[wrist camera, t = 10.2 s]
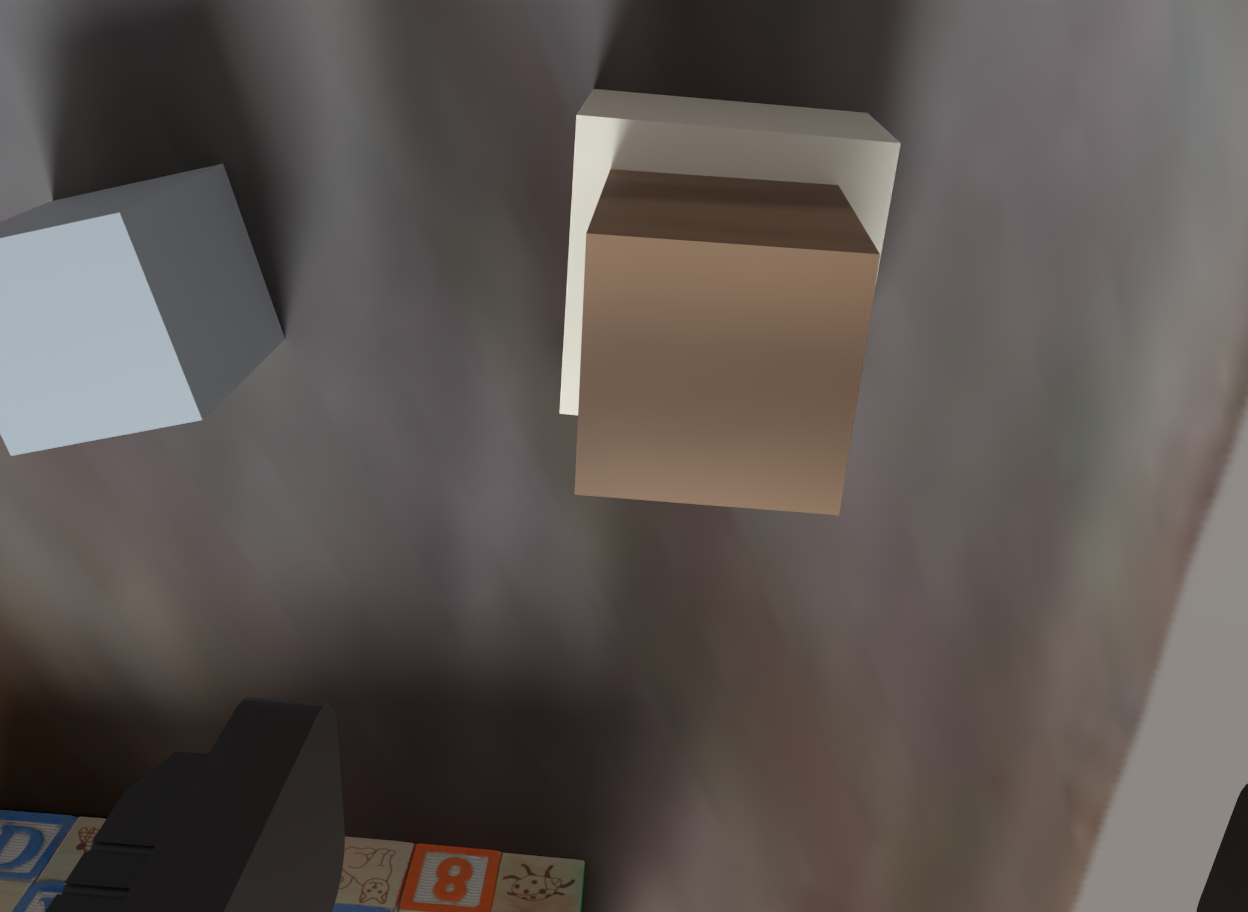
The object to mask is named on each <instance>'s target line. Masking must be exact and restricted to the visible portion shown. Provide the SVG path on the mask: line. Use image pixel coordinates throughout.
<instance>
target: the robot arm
mask: <svg viewBox="0 0 1248 912" xmlns="http://www.w3.org/2000/svg"><path fill="white" fill-rule="evenodd" d="M344 849H345V827H344V813H343V798H342V783H341V769H340V754H339V740H338V725H337V717H336V713H335V710H334V708H333V706H332V705H331V704H328V703H315V702H302V701H289V700H276V699H263V698H246V699H244V700H243V701H242V702H241V703H240V704H239V705H238V707H237V708H236V710H235V711H234V713H233V715H232V716H231V718H230V720H229V721H228V723H227V725H226V727H225V728H224V730H223V732H222V733H221V735H220V737H219V738H218V740H217V742H216V744H215V745H214V747H213V749H212V750H211V752H210V754H197V753H184V752H175V753H174V754H172V755H171V756H170V757H169V758H167V759H166V760H165V761H163V762H162V763H161V764H160V765H158V766H157V767H156V768H154V769H153V770H152V771H151V772H149V773H148V774H147V775H145V776H144V777H143V778H142V779H140V780H139V781H138V782H136V783H135V784H134V785H133V786H131V787H130V788H129V789H127V790H126V791H125V792H124V793H123V795H122V796H121V798H120V799H119V801H118V802H117V804H116V805H115V807H114V808H113V810H112V811H111V813H110V814H109V816H108V817H107V819H106V820H105V822H104V824H103V825H102V827H101V828H100V830H99V831H98V833H97V834H96V836H95V837H94V839H93V840H92V846H91V849H90V851H85V852H84V854H83V855H82V857H81V858H80V860H79V861H78V863H77V864H76V866H75V867H74V869H73V870H72V872H71V873H70V875H69V876H68V878H67V880H66V881H65V883H64V890H63V892H62V894H57V895H56V896H55V898H54V899H53V901H52V902H51V904H50V905H49V907H48V908H47V910H46V911H45V912H332V910H333V907H334V904H335V901H336V897H337V894H338V889H339V885H340V880H341V874H342V868H343V860H344ZM1197 912H1248V784H1247V785H1246V786H1245V787H1244V788H1243V790H1242V791H1241V793H1240V795H1239V797H1238V799H1237V802H1236V805H1235V807H1234V810H1233V813H1232V815H1231V818H1230V821H1229V823H1228V826H1227V829H1226V831H1225V834H1224V837H1223V839H1222V842H1221V845H1220V847H1219V850H1218V853H1217V855H1216V858H1215V861H1214V864H1213V866H1212V869H1211V871H1210V874H1209V877H1208V879H1207V882H1206V885H1205V887H1204V890H1203V893H1202V895H1201V898H1200V901H1199V904H1198V907H1197Z"/></svg>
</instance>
